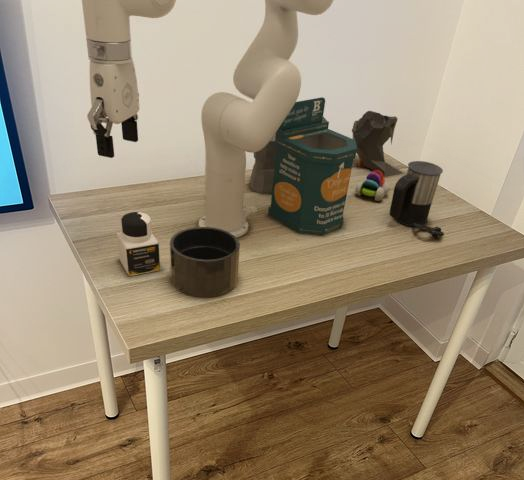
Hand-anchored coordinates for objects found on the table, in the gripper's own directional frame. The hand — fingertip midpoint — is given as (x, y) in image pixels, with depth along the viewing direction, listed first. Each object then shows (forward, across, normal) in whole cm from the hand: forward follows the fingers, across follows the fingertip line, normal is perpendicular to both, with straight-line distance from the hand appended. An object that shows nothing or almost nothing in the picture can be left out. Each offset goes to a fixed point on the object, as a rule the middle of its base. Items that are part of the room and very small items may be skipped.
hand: (118, 148), depth 104 cm
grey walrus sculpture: (+25, +83, -44) cm, 97 cm away
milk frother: (+25, +46, -62) cm, 82 cm away
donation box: (+25, +37, -34) cm, 56 cm away
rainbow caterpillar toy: (+25, +61, -47) cm, 81 cm away
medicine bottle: (+25, -2, -4) cm, 25 cm away
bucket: (+25, -1, -19) cm, 31 cm away
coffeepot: (+25, +51, -18) cm, 60 cm away
